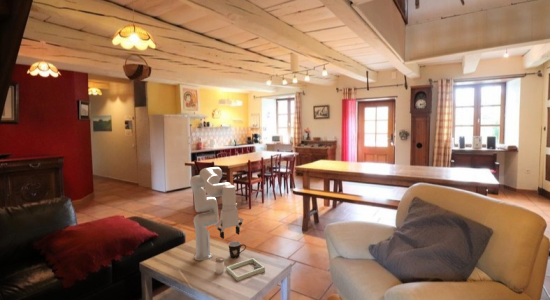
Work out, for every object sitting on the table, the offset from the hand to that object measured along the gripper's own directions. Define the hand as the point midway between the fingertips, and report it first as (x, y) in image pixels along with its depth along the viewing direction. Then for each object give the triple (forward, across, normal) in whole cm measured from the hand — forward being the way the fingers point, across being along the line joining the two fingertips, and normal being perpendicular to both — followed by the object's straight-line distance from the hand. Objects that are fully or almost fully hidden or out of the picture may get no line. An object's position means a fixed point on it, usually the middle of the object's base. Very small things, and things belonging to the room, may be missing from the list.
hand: (230, 235), depth 162 cm
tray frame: (+31, -15, -10) cm, 36 cm away
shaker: (+31, -1, -18) cm, 36 cm away
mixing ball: (+31, -21, -6) cm, 38 cm away
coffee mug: (+31, -19, -30) cm, 47 cm away
